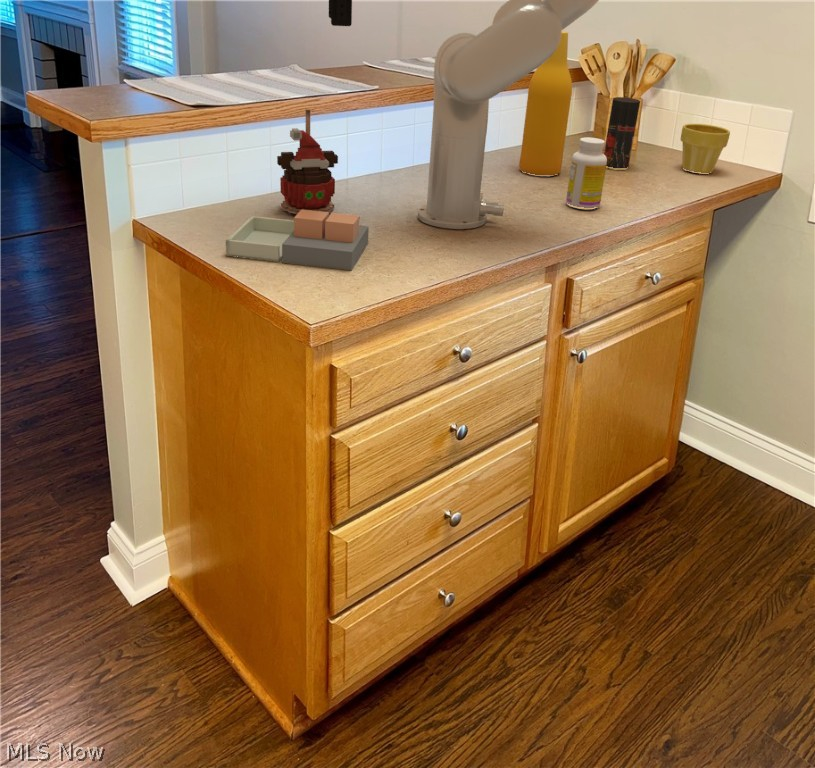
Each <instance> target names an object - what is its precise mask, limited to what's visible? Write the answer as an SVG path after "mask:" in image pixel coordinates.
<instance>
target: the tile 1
mask: <svg viewBox="0 0 815 768" xmlns="http://www.w3.org/2000/svg"><path fill="white" fill-rule="evenodd" d="M329 216H330V212H321V211H312V210H303V209H302V210H301V211H300V212H299V213H298V214H295V216H294V217H293V220H294V236H297V237H306V238H315V239H323V237H324V236H325V221H326V220H327V218H328V217H329Z"/></svg>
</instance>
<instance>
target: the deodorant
mask: <svg viewBox="0 0 815 768" xmlns="http://www.w3.org/2000/svg"><path fill="white" fill-rule="evenodd" d="M640 105H641V100H639V99H636V98H634V97H633V98H631V97H627V96H626V97H623V96H619V97H618V96H617V97H613V98H612V102H611V109H610V115H609V119H608V120H609V121H608V128H607V133H606V134H607V135H606V139H605V144H604V149H603V150H604V151H603V154H604V155H605V156H606V158H607V164H606V166H608V167H613V168H627V167H628V168H629V166H630V160H631V155H632V151H633V150H632V149H633V143H634V138H635V134H636V127H637V121H638V115H639V109H640Z"/></svg>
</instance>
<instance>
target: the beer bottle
mask: <svg viewBox="0 0 815 768" xmlns="http://www.w3.org/2000/svg"><path fill="white" fill-rule="evenodd" d="M568 44H569V32H568V31H564V30H562V33H561V39H560V42H559V45H558V47H557V49H556V50H555V52H554V53H553V54H552V55H551V57H550V58H549V59H548V60H547V61H546V62H544V63H543V64H542V65H541V66H539V67H538V68H536V69H535V70H534V73H533V75H532V77H531V78H530V81H529V85H528V91H527V100H526V106H525V107H526V109H525V118H524V123H523V132H522V133H523V134H522V141H521V142H522V143H521V150H520V157H519V158H520V159H519V165H518V166H519V171H520V170H521V171H523V172H526V173H530V174H535V175H555V174H558V173H559V174H560V173H561V171H562V167H563V158H564V157H563V156H564V150H565V149H564V148H565V143H566V137H567V135H566V134H567V128H568V122H569V121H568V120H569V116H570V115H569V114H570V108H571V107H570V106H571V101H572V95H573V82H572V76H571V73H570V70H569V64H568V49H569V48H568V46H569V45H568ZM521 171H520V172H521Z"/></svg>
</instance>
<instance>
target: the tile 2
mask: <svg viewBox="0 0 815 768" xmlns="http://www.w3.org/2000/svg"><path fill="white" fill-rule="evenodd" d="M360 216H361V215H358V214H350V213H349V214H348V213H347V214H346V213H339V212H330V214H329V217H328V218H327V220H326V221H325V240H333V241H343V242H352V243H353V242H354V241H355V239H356V238H357V236H358V235H359V225H360V220H361V218H360Z"/></svg>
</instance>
